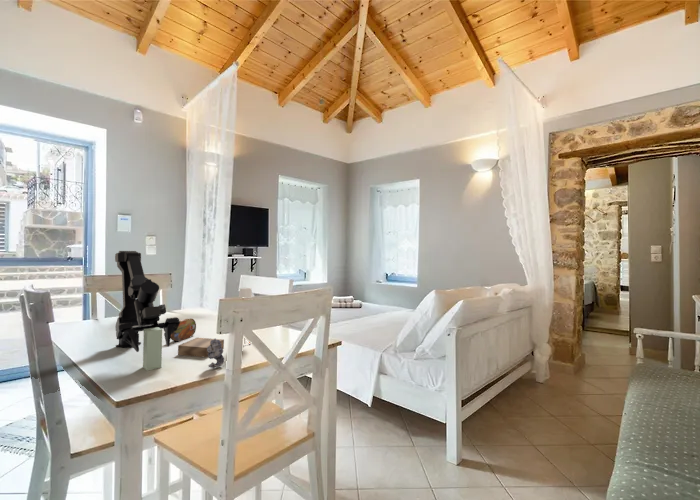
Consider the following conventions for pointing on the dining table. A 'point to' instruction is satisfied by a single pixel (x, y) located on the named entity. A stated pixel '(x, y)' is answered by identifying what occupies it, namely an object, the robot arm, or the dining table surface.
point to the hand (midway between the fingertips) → (153, 348)
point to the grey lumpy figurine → (215, 353)
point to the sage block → (152, 348)
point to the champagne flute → (245, 293)
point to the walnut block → (196, 347)
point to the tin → (184, 330)
